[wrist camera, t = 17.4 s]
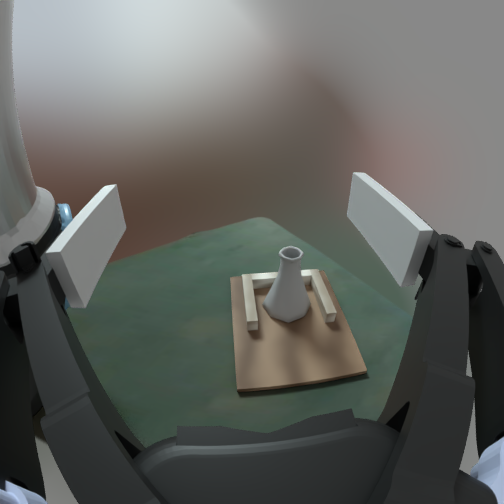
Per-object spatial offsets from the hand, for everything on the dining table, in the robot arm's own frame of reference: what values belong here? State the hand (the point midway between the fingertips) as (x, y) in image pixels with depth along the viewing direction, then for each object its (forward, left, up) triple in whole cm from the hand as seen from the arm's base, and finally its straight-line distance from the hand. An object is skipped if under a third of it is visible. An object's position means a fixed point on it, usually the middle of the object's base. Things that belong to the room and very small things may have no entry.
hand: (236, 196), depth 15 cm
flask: (+8, +17, -25) cm, 31 cm away
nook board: (+8, +14, -26) cm, 30 cm away
